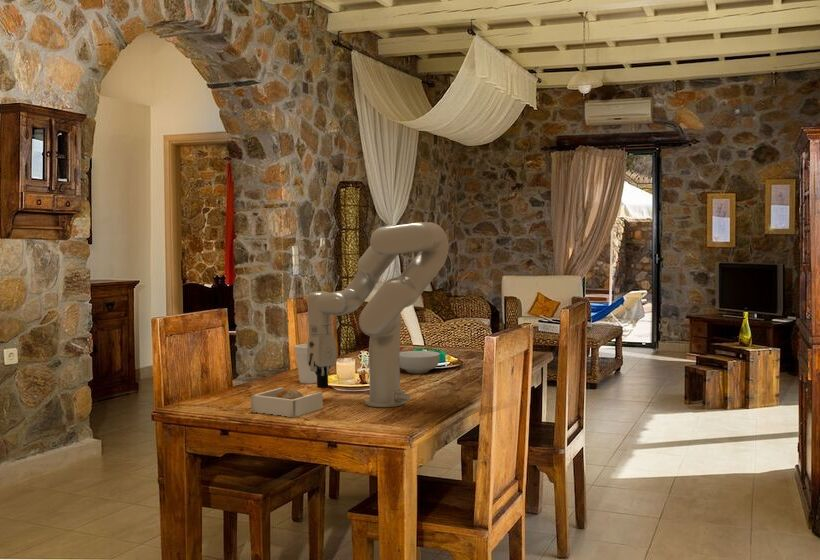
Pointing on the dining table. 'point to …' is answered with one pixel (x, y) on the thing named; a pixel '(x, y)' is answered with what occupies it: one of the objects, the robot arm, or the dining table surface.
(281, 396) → the bread roll
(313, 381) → the foam cup
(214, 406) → the dining table surface
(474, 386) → the dining table surface
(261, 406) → the bin
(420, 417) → the dining table surface
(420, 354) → the cereal bowl
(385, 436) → the dining table surface
